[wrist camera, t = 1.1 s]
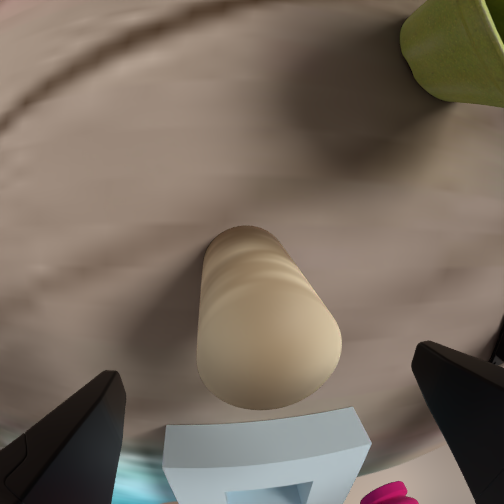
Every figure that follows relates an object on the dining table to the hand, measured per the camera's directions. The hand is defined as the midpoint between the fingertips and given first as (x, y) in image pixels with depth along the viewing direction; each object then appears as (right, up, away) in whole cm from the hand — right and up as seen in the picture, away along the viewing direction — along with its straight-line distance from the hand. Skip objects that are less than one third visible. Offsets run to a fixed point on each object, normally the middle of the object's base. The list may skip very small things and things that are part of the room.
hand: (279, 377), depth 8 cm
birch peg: (-1, +3, +8) cm, 9 cm away
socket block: (0, -15, +14) cm, 21 cm away
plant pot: (+11, +16, +6) cm, 20 cm away
